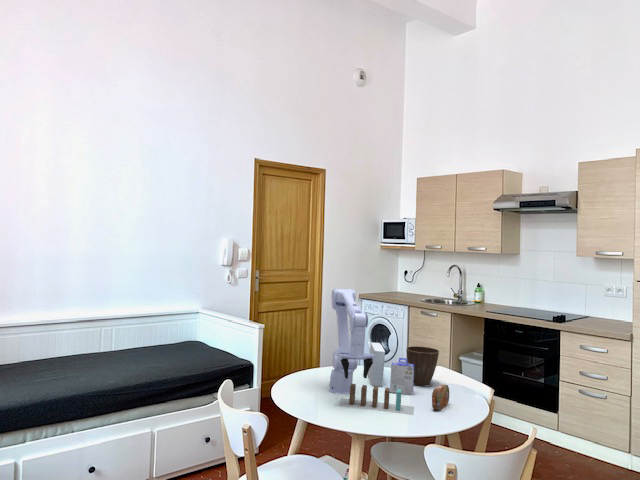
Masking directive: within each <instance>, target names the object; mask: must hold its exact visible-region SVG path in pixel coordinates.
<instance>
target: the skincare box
mask: <svg viewBox="0 0 640 480" xmlns="http://www.w3.org/2000/svg"><path fill="white" fill-rule="evenodd" d="M369 344H370V345H369V354H374V355H375V360H372V361H373V364H372V365H371V367H370V369H369V371H368V374H367V377H368V379H369V381H370V384H371V386H372V387H374V386H377V387H383V382H384V369H385V356H386V351H385V349H384V346H382V344H381V342H370V343H369Z"/></svg>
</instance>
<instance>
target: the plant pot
mask: <svg viewBox="0 0 640 480" xmlns="http://www.w3.org/2000/svg"><path fill="white" fill-rule="evenodd" d="M439 354H440V350H438V349H437V348H433V347H428V346H416V345H415V346H414V345H413V346H407V347H406V358H407V364H414V384H413V385H416V386H418V387H428V386H430V385H431V382H432V380H433V378H434V374H435V371H436V368H437V364H438V359H439Z"/></svg>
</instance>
